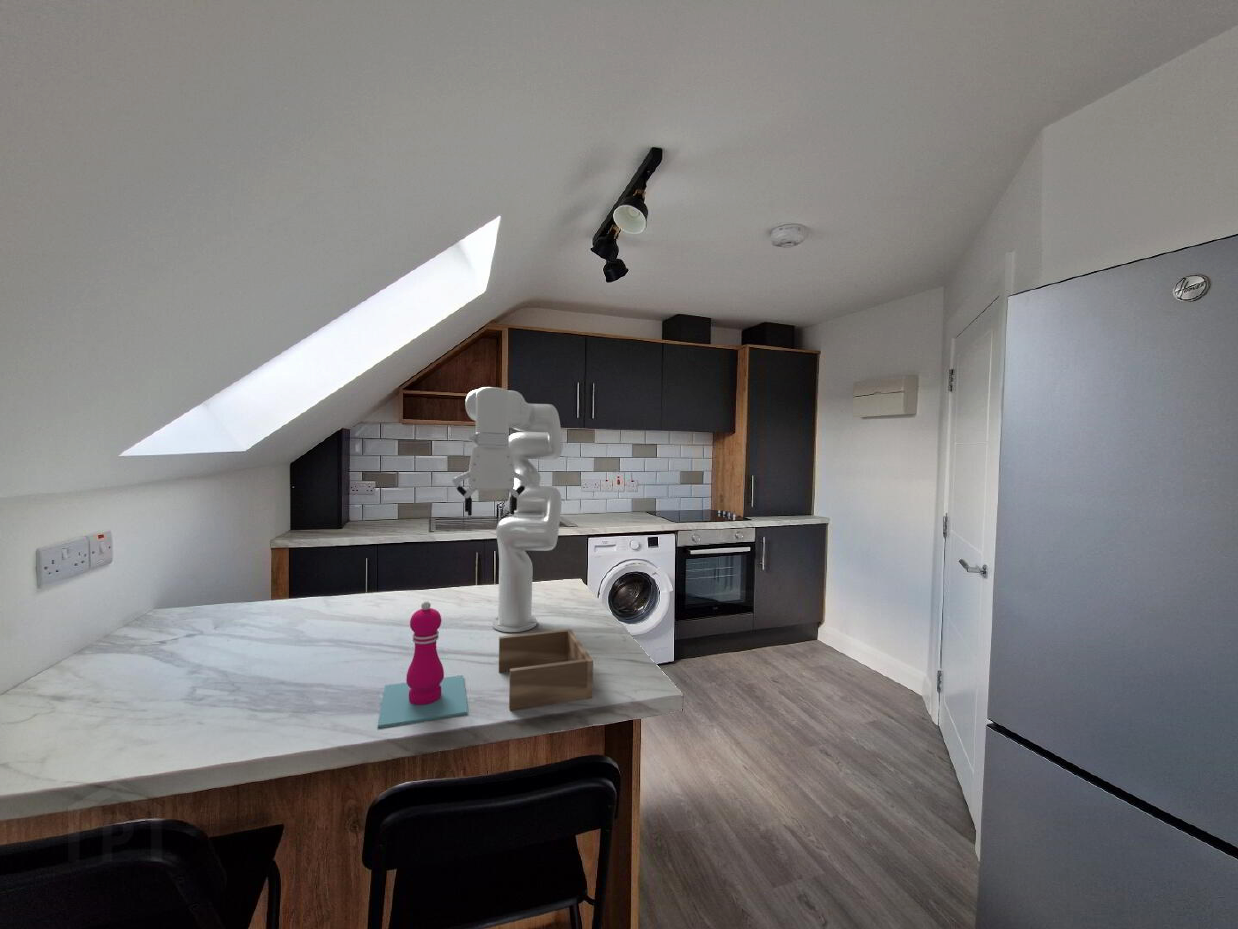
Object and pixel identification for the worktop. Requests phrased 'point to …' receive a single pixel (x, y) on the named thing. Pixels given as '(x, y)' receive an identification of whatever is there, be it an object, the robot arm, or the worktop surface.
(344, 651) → the worktop surface
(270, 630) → the worktop surface
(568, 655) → the open side box
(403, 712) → the mat
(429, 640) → the pepper mill
